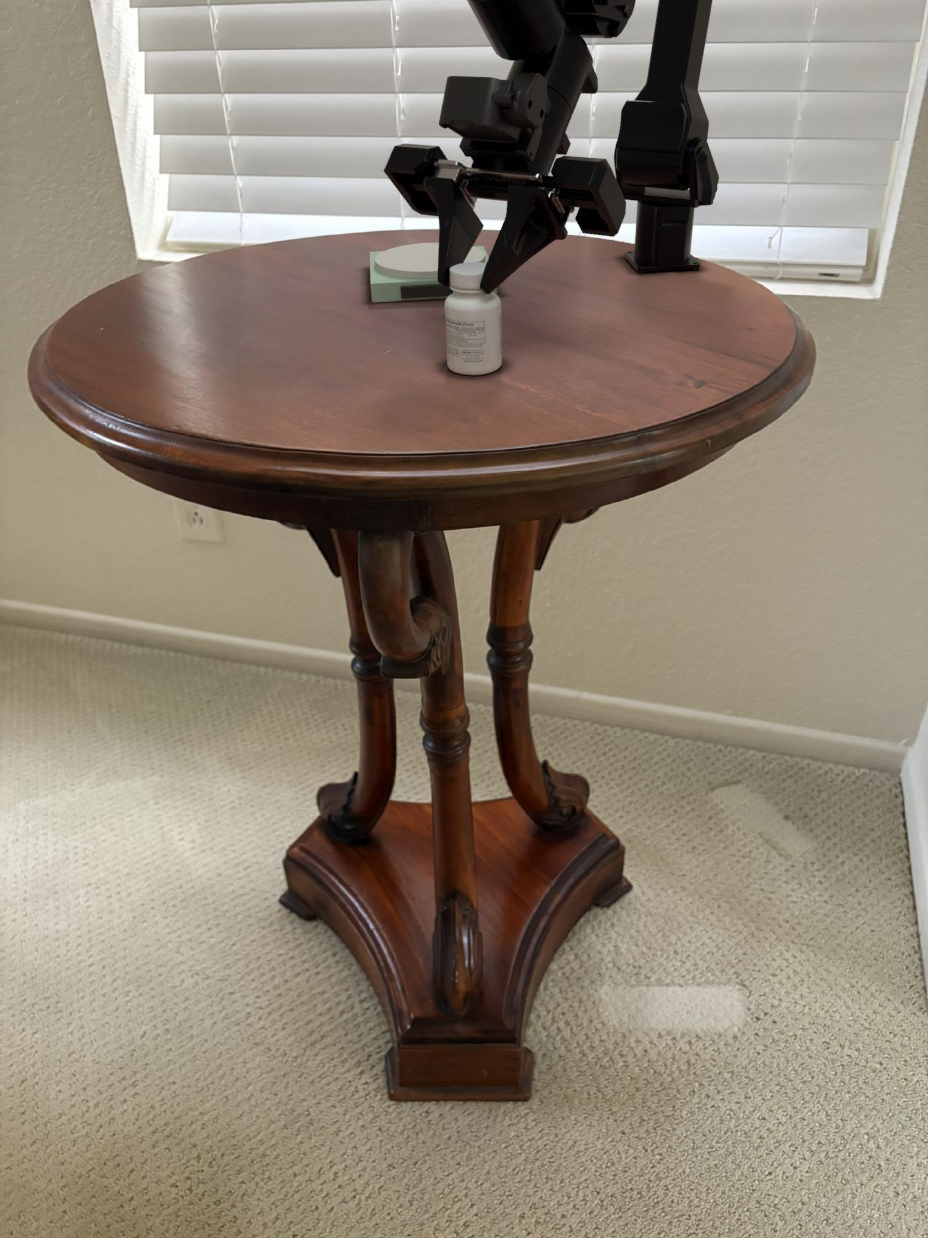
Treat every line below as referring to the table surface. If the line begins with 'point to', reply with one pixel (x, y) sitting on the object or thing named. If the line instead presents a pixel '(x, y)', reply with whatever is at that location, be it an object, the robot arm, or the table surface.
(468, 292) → the pill bottle
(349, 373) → the table surface
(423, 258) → the scale
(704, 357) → the table surface
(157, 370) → the table surface
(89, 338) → the table surface
